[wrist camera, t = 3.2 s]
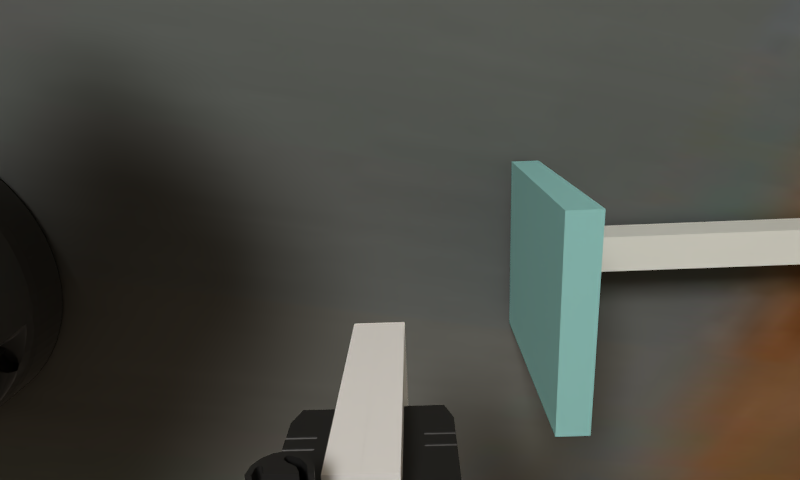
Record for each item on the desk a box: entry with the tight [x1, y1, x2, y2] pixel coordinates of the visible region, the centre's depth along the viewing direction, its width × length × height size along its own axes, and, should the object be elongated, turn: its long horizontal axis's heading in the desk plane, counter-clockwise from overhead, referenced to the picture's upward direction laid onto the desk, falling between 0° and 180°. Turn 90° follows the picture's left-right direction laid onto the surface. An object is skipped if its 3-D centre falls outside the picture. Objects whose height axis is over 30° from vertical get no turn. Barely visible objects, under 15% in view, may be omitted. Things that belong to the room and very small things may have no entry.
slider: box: [509, 161, 800, 437], centre depth 22 cm, size 19×8×9 cm, turn 93°
